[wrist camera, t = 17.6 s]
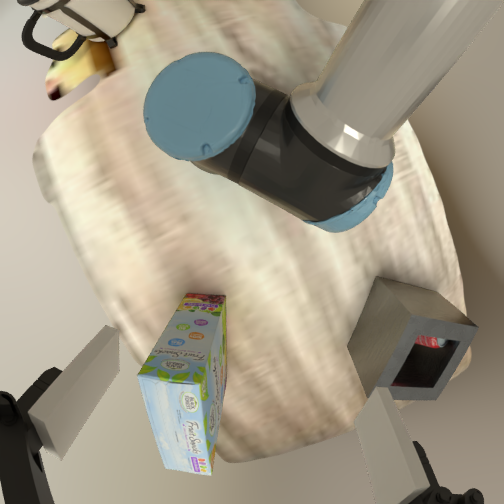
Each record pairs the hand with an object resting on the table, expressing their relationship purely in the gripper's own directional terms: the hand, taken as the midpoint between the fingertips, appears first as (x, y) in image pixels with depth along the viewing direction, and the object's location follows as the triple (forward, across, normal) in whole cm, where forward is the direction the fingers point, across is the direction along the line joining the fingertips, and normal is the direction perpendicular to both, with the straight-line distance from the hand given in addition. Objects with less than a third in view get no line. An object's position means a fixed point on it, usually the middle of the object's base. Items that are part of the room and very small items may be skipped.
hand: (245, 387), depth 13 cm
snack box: (+39, -5, -25) cm, 46 cm away
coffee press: (+39, -40, +35) cm, 66 cm away
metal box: (+39, +31, -11) cm, 51 cm away
